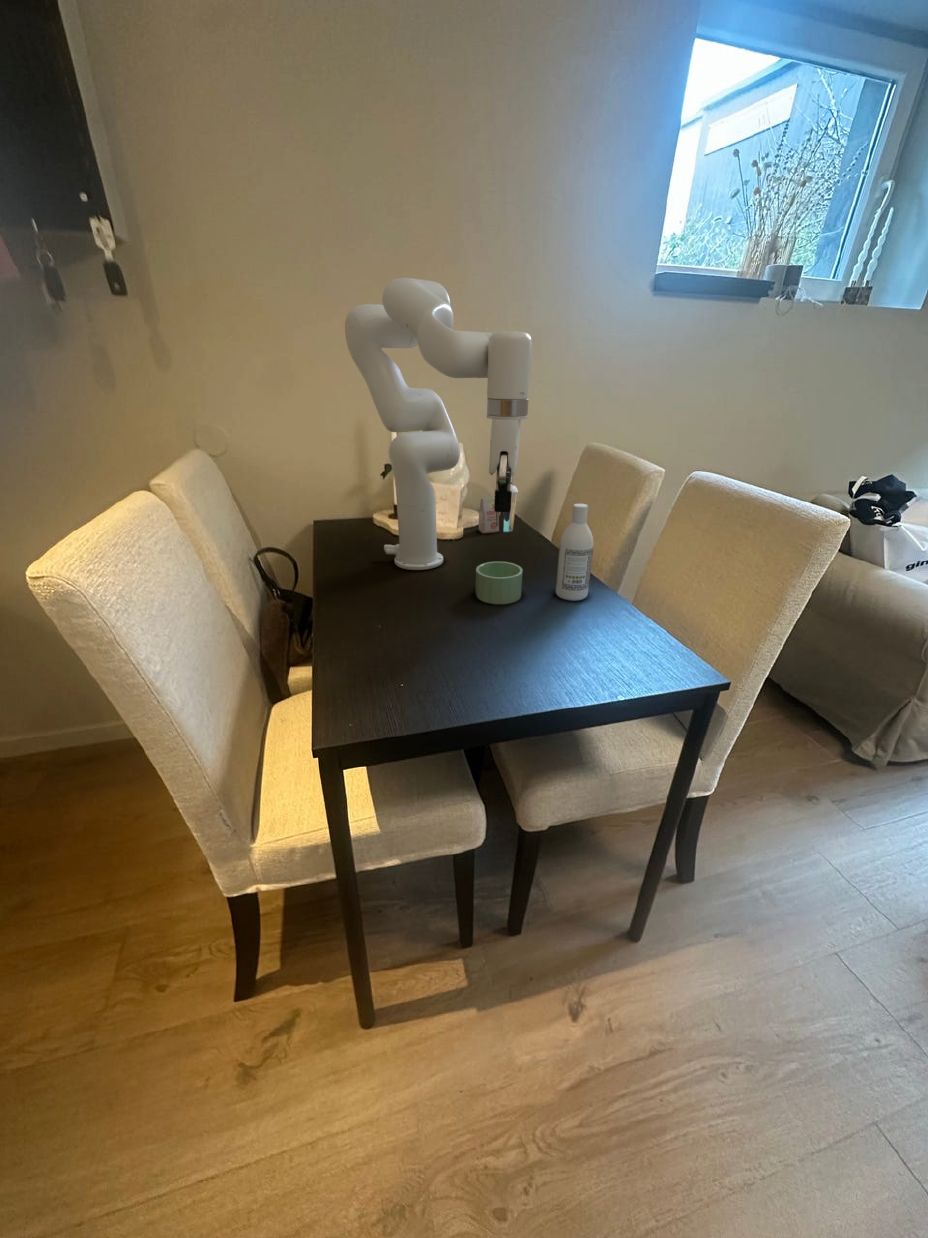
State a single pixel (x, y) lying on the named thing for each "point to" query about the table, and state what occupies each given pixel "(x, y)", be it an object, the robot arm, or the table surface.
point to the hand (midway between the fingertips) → (503, 507)
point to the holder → (498, 582)
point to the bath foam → (575, 557)
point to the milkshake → (507, 514)
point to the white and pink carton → (487, 516)
